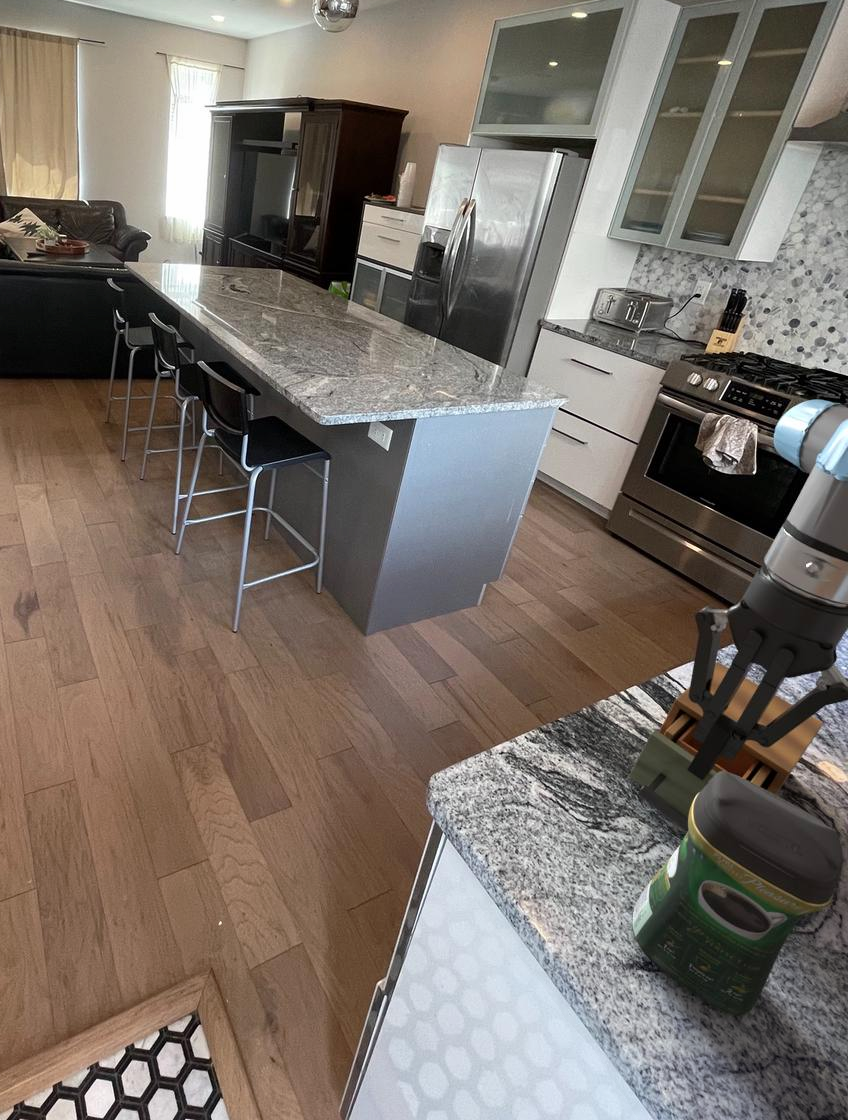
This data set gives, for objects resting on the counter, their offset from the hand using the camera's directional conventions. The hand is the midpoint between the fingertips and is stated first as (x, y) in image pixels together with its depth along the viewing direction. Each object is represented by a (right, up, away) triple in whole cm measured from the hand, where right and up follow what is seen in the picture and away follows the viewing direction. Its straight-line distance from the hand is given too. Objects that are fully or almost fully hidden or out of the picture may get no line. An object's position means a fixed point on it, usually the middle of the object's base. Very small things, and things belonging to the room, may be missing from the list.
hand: (699, 769), depth 66 cm
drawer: (+3, -6, +5) cm, 8 cm away
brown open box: (+5, -5, +6) cm, 9 cm away
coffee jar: (-8, -12, -10) cm, 17 cm away
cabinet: (+11, -5, +12) cm, 17 cm away
